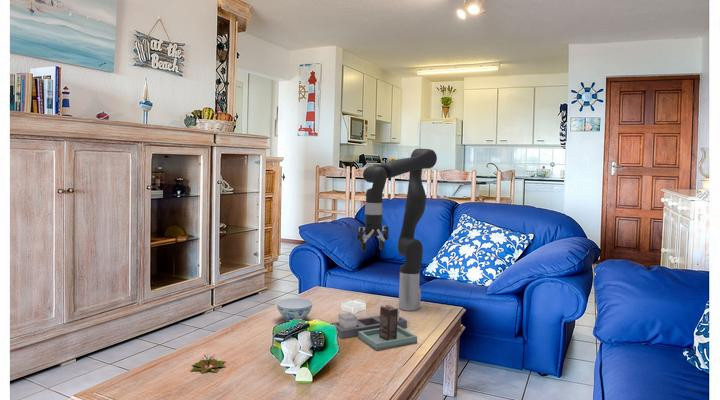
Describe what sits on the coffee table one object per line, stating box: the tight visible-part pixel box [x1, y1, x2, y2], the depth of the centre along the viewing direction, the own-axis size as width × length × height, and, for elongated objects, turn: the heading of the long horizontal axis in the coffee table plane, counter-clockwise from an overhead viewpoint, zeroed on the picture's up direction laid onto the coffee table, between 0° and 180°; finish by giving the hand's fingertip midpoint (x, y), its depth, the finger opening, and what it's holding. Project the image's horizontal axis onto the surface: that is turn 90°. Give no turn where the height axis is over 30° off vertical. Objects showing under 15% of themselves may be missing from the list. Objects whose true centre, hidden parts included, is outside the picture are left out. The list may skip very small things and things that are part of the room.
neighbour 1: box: [338, 312, 358, 329], centre depth 192 cm, size 5×6×7 cm
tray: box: [357, 325, 418, 351], centre depth 184 cm, size 18×14×2 cm
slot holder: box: [330, 315, 408, 340], centre depth 197 cm, size 30×10×3 cm, turn 119°
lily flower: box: [189, 353, 227, 375], centre depth 157 cm, size 12×12×5 cm
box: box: [379, 304, 399, 341], centre depth 184 cm, size 6×4×12 cm
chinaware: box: [276, 297, 314, 322], centre depth 204 cm, size 15×15×8 cm
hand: (372, 250), depth 207 cm, fingers open, 8 cm apart
